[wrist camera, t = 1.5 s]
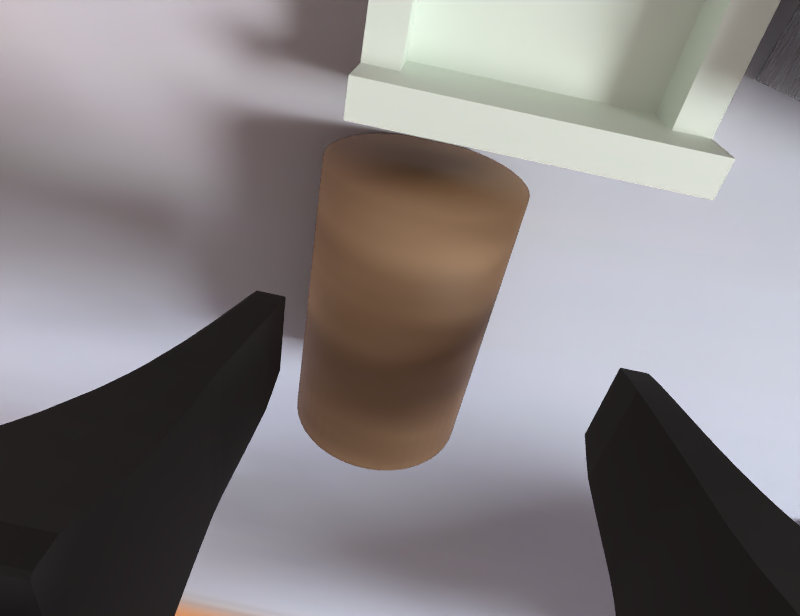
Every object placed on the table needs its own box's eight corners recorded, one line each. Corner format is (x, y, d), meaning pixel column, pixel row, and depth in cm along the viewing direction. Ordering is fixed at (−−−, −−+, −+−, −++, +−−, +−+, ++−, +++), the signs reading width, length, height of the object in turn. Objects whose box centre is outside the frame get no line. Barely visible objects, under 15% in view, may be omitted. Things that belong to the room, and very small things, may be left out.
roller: (482, 415, 16) (381, 501, 13) (373, 338, 18) (263, 397, 15) (565, 191, 12) (448, 241, 9) (414, 124, 14) (278, 148, 11)
